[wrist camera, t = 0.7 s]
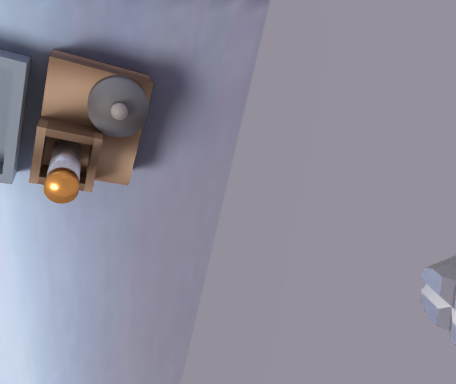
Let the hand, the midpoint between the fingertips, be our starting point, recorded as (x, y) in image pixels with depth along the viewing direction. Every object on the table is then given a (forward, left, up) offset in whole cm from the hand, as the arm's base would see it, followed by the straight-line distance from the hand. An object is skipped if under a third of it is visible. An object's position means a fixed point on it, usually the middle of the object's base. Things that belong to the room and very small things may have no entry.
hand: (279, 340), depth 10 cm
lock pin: (+11, -5, -36) cm, 38 cm away
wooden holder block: (+8, -3, -40) cm, 41 cm away
